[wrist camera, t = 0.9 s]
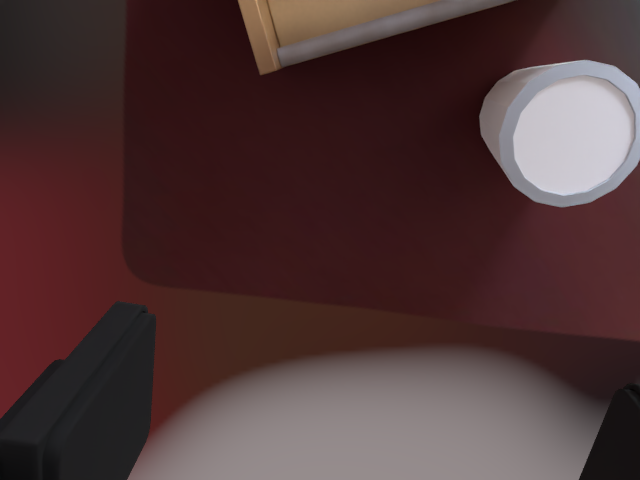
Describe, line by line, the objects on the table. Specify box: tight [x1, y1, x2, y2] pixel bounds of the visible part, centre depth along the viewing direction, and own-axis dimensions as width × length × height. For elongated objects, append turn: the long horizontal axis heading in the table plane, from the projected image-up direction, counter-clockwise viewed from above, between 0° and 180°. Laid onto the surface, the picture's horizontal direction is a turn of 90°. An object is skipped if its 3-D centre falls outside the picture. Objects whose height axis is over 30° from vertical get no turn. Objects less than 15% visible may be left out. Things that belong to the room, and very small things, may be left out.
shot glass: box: [479, 60, 640, 207], centre depth 29 cm, size 7×7×7 cm
